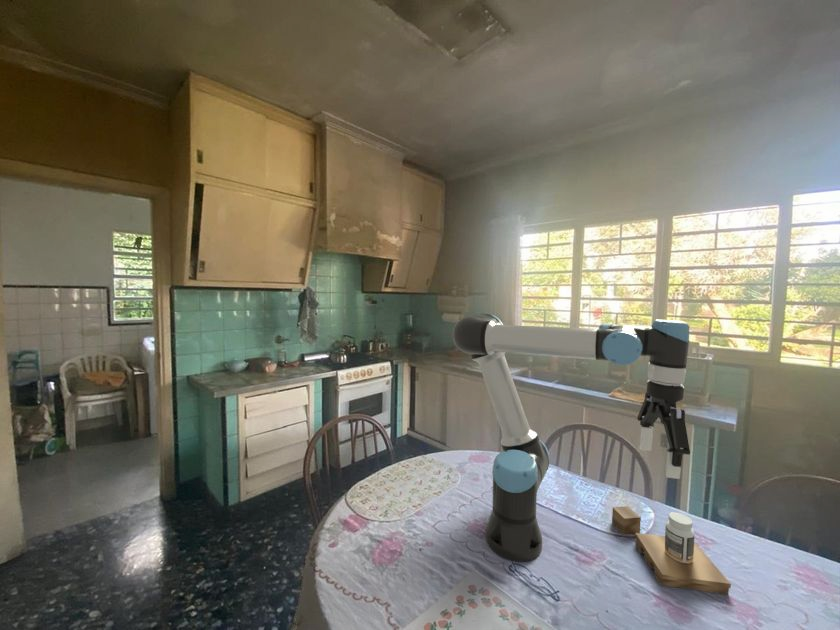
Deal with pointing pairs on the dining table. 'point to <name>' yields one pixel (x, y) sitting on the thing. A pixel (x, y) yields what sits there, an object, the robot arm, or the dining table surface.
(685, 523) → the pill bottle
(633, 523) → the wooden cube
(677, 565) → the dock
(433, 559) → the dining table surface
